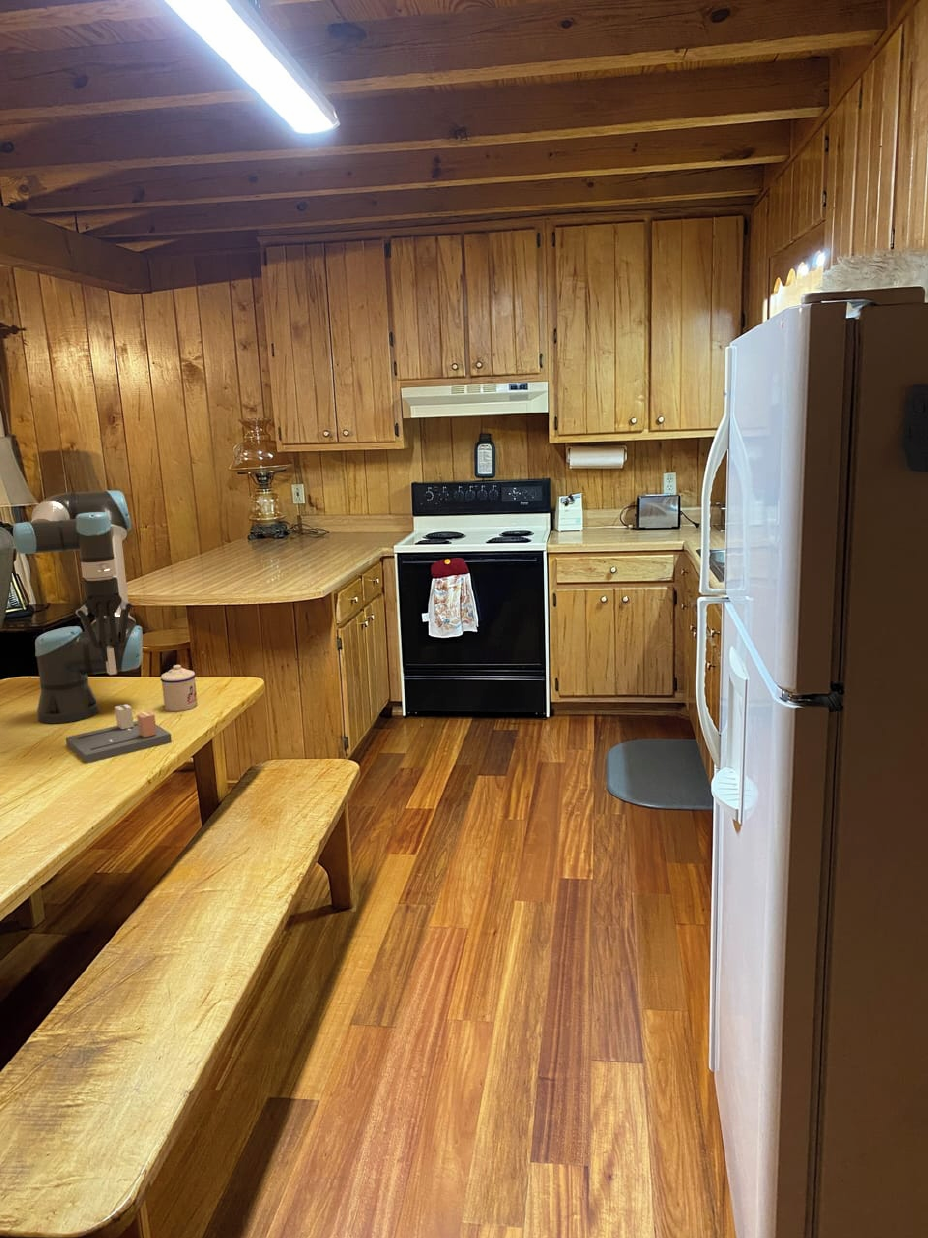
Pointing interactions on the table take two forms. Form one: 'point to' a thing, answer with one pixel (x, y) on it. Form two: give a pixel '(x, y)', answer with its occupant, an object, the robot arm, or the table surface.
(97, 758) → the mixer board
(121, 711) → the fader
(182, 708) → the teacup with lid
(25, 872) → the table surface
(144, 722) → the fader
